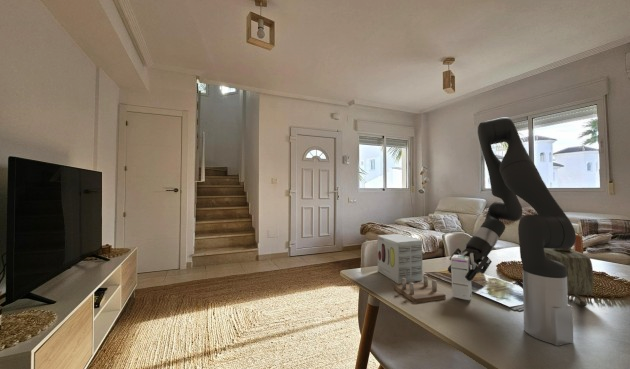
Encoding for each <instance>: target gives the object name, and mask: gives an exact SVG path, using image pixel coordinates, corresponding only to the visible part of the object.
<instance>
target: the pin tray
mask: <svg viewBox="0 0 630 369" xmlns="http://www.w3.org/2000/svg"><path fill="white" fill-rule="evenodd" d="M422 281H423V282H421V281H420V282H408V283H406V278H402V283H401V284H396V285H394V290H395V291H397V292H398V293H399V294H401V295H403V296H404V297H406V299H409V301H411V302H413V303H414V304H417V303H425V302H433V301H439V300H440V301H441V300H446V299H447V298H446V296H447V295H446V294H445V293H443V292H441V291H439V290H438V289H437V288H438V287H437V284H438V282H437V280H436V279H431V285H432V286H431V285H429V277H428V275H423V280H422Z"/></svg>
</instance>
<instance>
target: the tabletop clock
mask: <svg viewBox="0 0 630 369" xmlns="http://www.w3.org/2000/svg"><path fill="white" fill-rule="evenodd" d="M544 253H545V256H546V257H547V258H548V259H551V260H554V261H557V262H560V263H562V264H564V265H565V266H566V268H567V292H568V295H569V294H570V295H571V294H572V295H574V297H575V298H576V299H577V300H579V305H581V307H586V306H587V305H588V304H587V302H585V301H583V300H582V299H581V297H580V295H585V296H586V295H587V296H589V295H590V296H591V295H592V293H593V291H594V270H593V264H592V261H591V258H590V256H588V255H587V254H584V253H583V252H579V251H577V250H573V249H572V247H570V248H566V249H549V248H544Z"/></svg>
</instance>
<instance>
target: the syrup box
mask: <svg viewBox="0 0 630 369" xmlns="http://www.w3.org/2000/svg"><path fill="white" fill-rule="evenodd" d="M452 255H453V254H452ZM452 255H451V256H452ZM451 256H450V257H451ZM450 265H451V273H450V274H451V277H450V278H451V294H452V295H451V296H452V297H453V298H457V299H462V300H465V301H470V300H471V298H472V296H473V291H472V290H473V289H472V280H471V281H468V280H467V279H466V278H465V276H466V274H467V273H468V272H469V270H470V269H472V265H470V257H469V256H464V255H453V256H452V257H451V260H450Z"/></svg>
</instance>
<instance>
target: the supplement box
mask: <svg viewBox="0 0 630 369" xmlns="http://www.w3.org/2000/svg"><path fill="white" fill-rule="evenodd" d="M376 236H377V238H376V239H377V272H379V274H381V275H383V276H385V277H387V278H388V279H389V280H392V281H393V282H394V283H396V284H397V285H401V284H402V278H406V284H409V283H410V282H412V283H416V282H419V281H420V282H421V281H424V280H423V276H424V275H423V240H422V239H419V238H415V237H412V236H408V235H405V234H400V233H392V234H380V235H379V234H377V235H376Z"/></svg>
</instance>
